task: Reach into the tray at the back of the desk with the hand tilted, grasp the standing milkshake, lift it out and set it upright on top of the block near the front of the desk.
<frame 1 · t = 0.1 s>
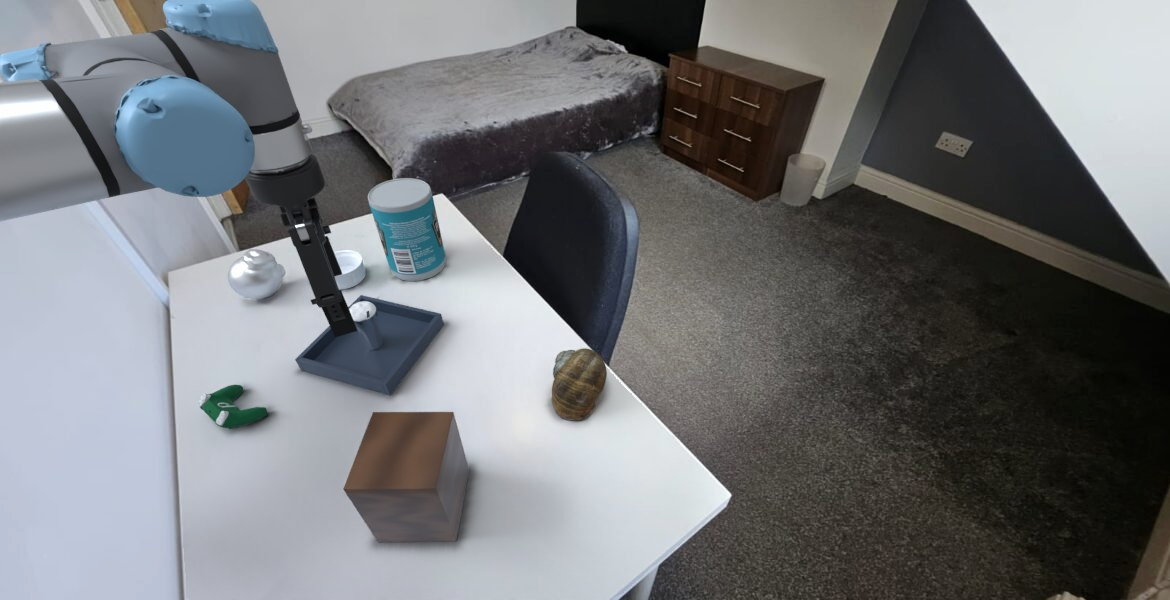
hand: (338, 302, 66), 19 cm above the table, tool pointing down, fingers open, 13 cm apart
seashell: (576, 393, 79), on the table
food can: (419, 265, 104), on the table
milkshake: (376, 345, 85), resting in tray
tray: (376, 346, 85), on the table
silver rounded lump: (267, 293, 96), on the table
block: (426, 503, 64), on the table
ramekin: (346, 279, 100), on the table
gaming controller: (238, 414, 74), on the table
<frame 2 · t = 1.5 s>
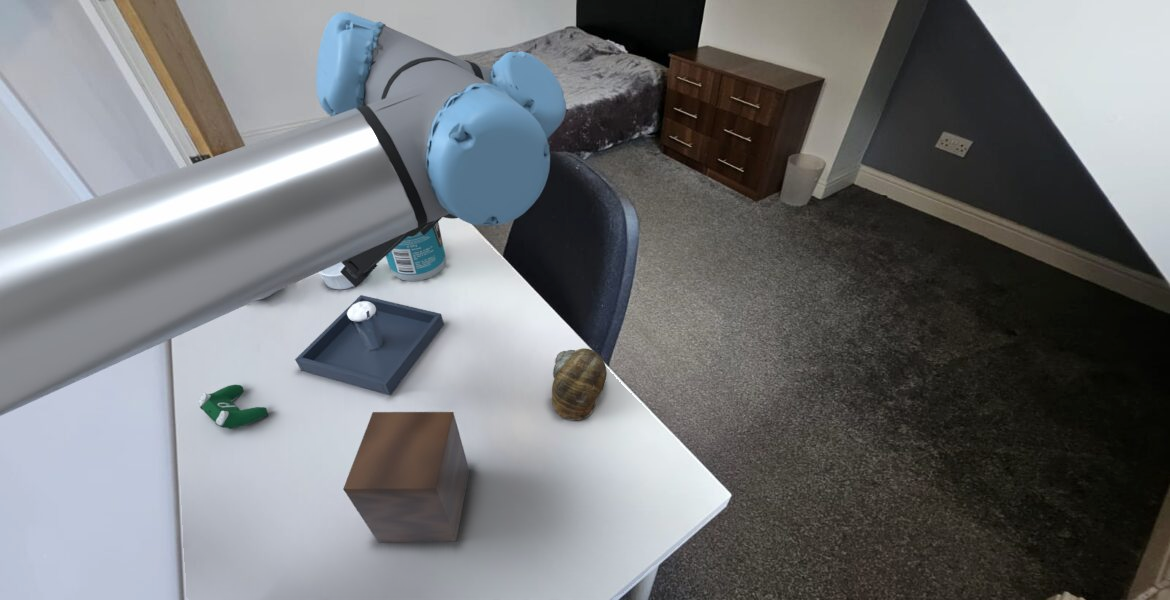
hand: (386, 251, 66), 25 cm above the table, tool tilted 45°, fingers open, 13 cm apart
nothing on the table moved.
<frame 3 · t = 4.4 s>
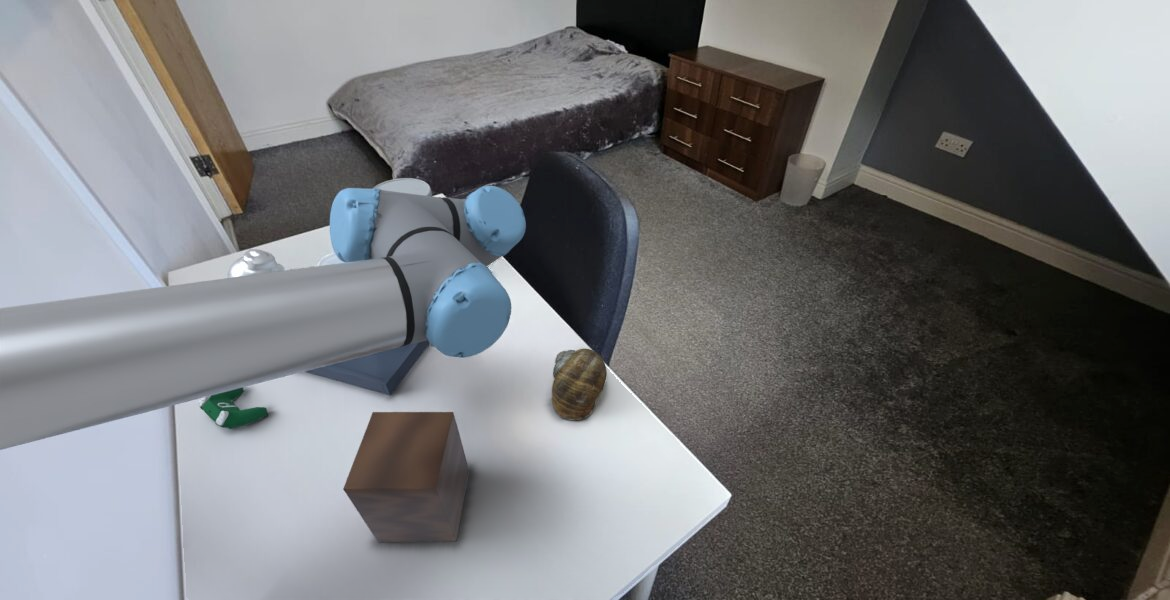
hand: (384, 313, 77), 10 cm above the table, tool tilted 45°, fingers open, 13 cm apart
nothing on the table moved.
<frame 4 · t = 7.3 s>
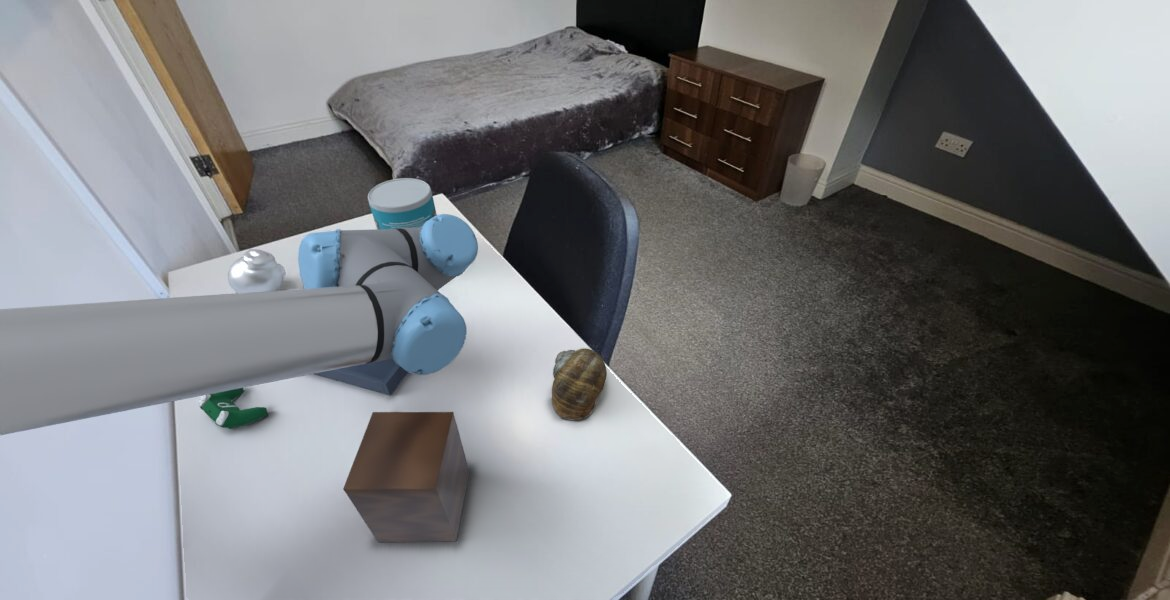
hand: (355, 327, 84), 3 cm above the table, tool tilted 45°, fingers closed on milkshake, 5 cm apart
milkshake: (376, 345, 85), resting in tray, touching gripper
everything else where it was.
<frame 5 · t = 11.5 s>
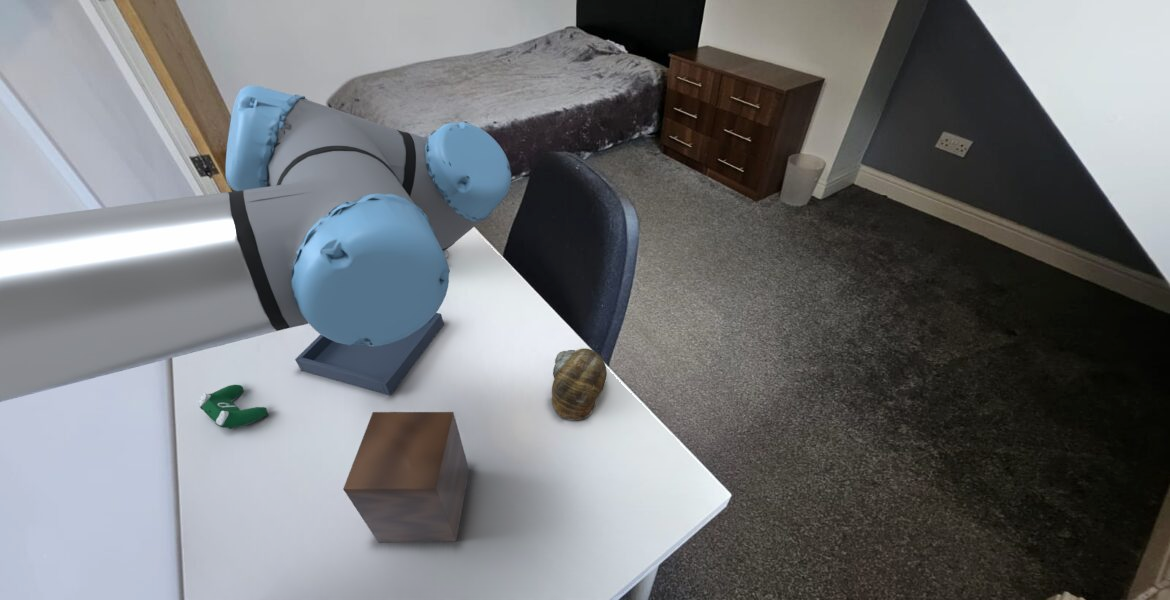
hand: (336, 309, 64), 20 cm above the table, tool tilted 45°, fingers closed on milkshake, 5 cm apart
milkshake: (363, 333, 65), point 17 cm above the table, touching gripper
everything else where it was.
when the fingers open (17 cm above the table, at t = 16.2 s): milkshake stays where it is, resting on block.
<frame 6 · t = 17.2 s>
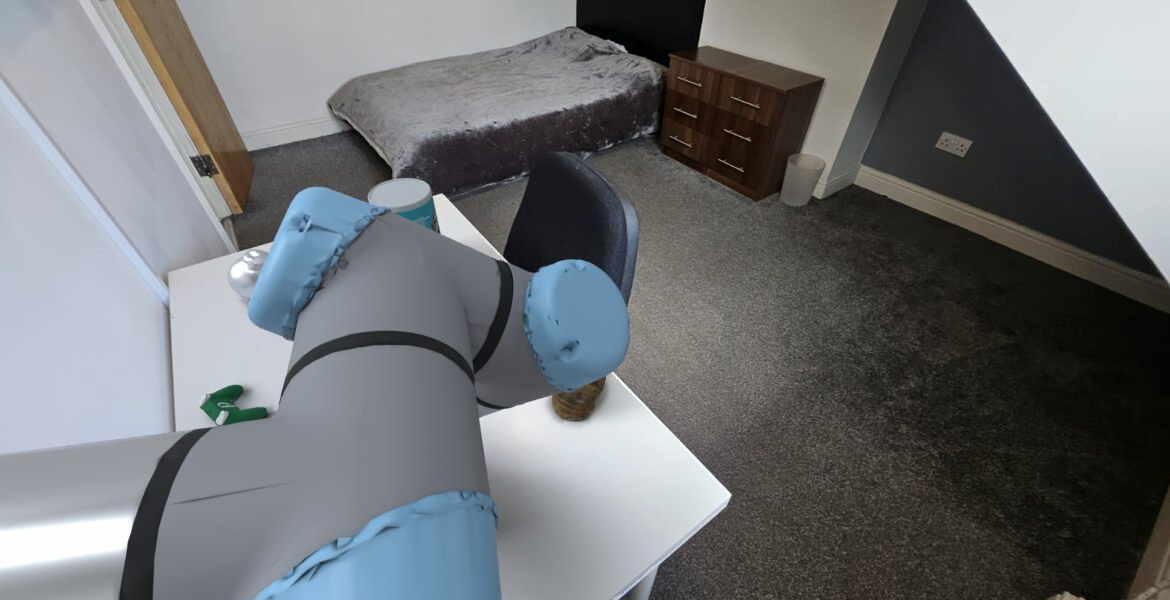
hand: (374, 414, 52), 19 cm above the table, tool tilted 45°, fingers open, 13 cm apart
milkshake: (403, 448, 55), point 14 cm above the table, touching block
everything else where it was.
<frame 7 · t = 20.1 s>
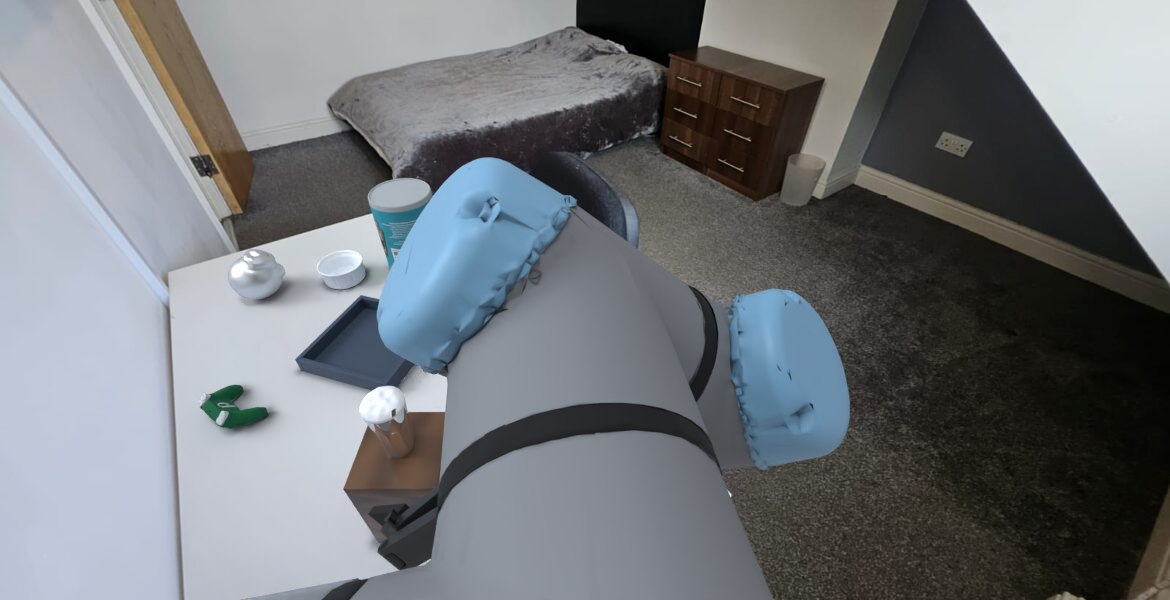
hand: (433, 454, 44), 23 cm above the table, tool tilted 45°, fingers open, 13 cm apart
nothing on the table moved.
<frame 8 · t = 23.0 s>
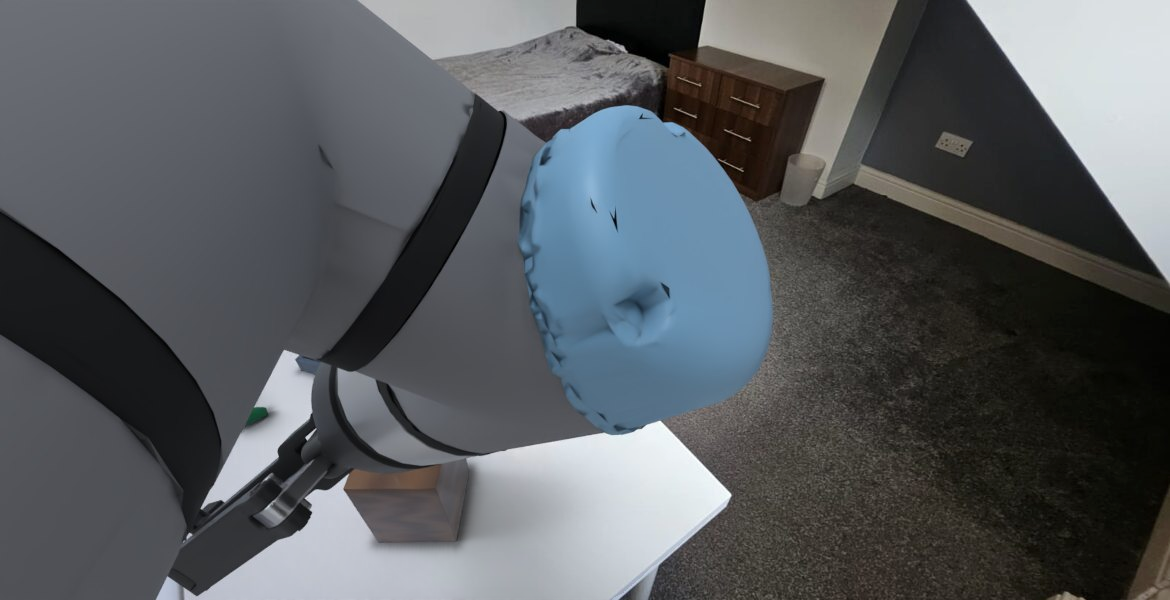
hand: (305, 439, 35), 32 cm above the table, tool tilted 45°, fingers open, 13 cm apart
nothing on the table moved.
at the end: milkshake 0.1 cm off-centre on the block, point 13.8 cm above the block's base; milkshake tilted 0°; the gripper is holding nothing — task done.
